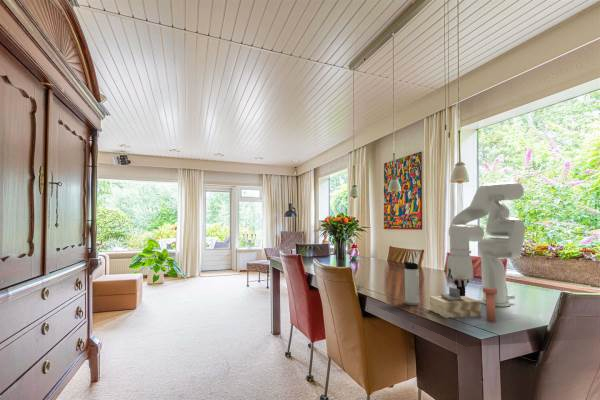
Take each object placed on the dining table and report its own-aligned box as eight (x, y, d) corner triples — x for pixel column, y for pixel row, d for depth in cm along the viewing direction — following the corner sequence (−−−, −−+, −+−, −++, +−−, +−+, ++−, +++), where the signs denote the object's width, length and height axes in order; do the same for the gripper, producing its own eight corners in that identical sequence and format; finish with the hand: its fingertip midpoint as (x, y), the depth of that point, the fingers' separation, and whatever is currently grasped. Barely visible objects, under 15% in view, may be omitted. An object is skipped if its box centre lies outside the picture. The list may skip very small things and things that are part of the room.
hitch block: (462, 308, 134) (462, 294, 135) (480, 316, 124) (480, 301, 124) (430, 309, 132) (429, 296, 133) (445, 317, 121) (445, 302, 122)
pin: (491, 318, 121) (490, 287, 122) (501, 322, 116) (499, 289, 117) (481, 318, 120) (479, 287, 121) (490, 322, 115) (489, 290, 116)
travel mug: (402, 302, 145) (401, 260, 146) (415, 301, 145) (414, 260, 147) (408, 305, 139) (407, 262, 140) (421, 305, 139) (420, 262, 141)
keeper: (451, 296, 131) (451, 286, 132) (460, 299, 126) (460, 289, 126) (441, 296, 131) (440, 286, 131) (449, 300, 125) (449, 290, 125)
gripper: (468, 252, 135) (470, 293, 134) (438, 252, 133) (440, 293, 131) (481, 253, 128) (483, 297, 126) (449, 254, 125) (451, 298, 124)
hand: (461, 295), depth 129 cm, fingers closed
